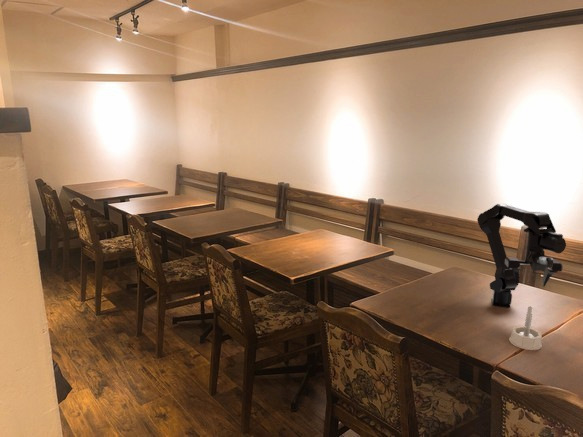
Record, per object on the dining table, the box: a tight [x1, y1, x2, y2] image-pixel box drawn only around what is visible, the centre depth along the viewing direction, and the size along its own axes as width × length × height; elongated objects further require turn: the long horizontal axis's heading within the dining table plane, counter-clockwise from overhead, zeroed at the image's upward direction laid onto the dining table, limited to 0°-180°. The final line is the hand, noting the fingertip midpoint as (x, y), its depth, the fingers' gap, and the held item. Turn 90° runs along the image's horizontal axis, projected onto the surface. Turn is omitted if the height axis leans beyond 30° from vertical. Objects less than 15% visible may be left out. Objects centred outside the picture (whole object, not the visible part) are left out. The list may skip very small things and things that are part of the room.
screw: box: [519, 306, 534, 338], centre depth 159 cm, size 13×5×5 cm
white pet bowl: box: [509, 325, 543, 351], centre depth 160 cm, size 10×10×4 cm
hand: (530, 285), depth 178 cm, fingers open, 9 cm apart
